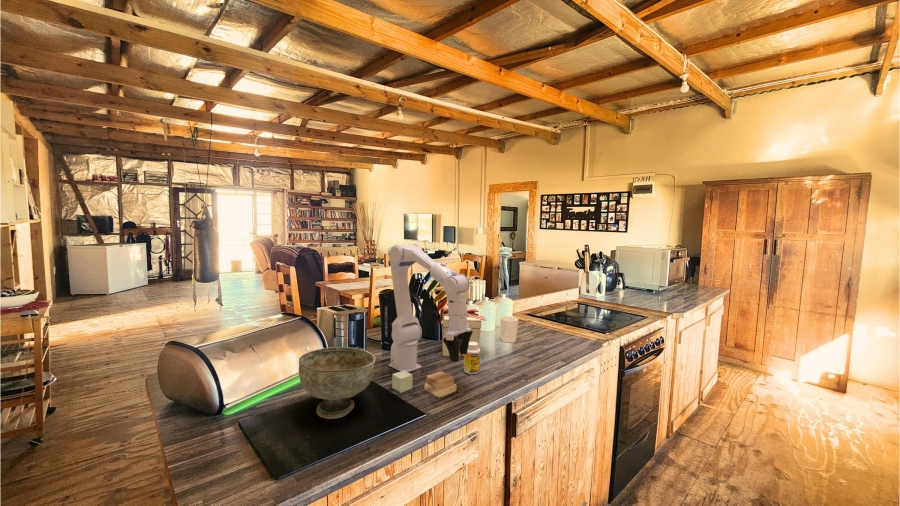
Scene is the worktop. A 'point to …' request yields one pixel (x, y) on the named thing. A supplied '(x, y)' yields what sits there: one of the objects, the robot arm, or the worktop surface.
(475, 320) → the gift box
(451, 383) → the top slab
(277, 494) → the worktop surface
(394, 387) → the cube
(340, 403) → the bowl
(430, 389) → the bottom slab
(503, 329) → the beige speckled cup
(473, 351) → the supplement bottle
